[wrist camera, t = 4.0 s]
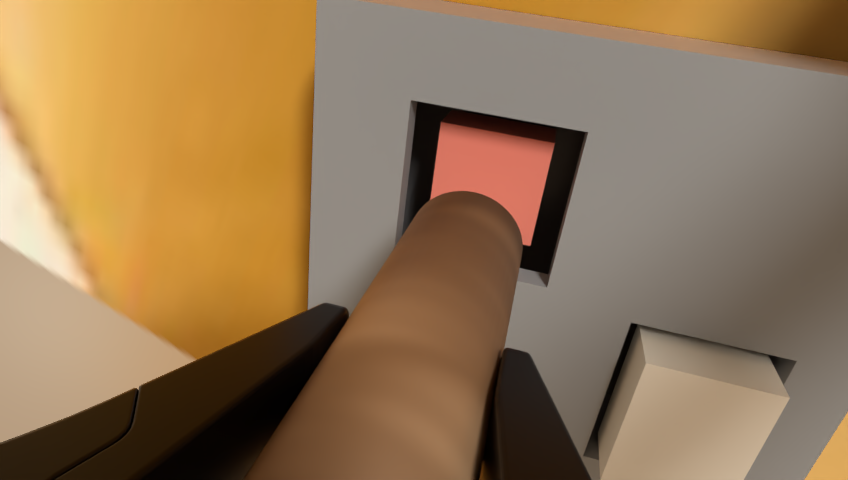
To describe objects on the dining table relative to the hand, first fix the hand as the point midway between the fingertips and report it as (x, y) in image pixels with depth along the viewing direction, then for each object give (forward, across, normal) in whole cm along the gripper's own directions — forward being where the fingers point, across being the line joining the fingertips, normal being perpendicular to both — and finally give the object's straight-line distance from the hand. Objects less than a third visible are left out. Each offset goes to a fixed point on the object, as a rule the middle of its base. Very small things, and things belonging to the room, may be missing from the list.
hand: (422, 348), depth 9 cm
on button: (+8, -7, +6) cm, 12 cm away
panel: (+11, -3, +3) cm, 12 cm away
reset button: (+10, 0, 0) cm, 10 cm away
